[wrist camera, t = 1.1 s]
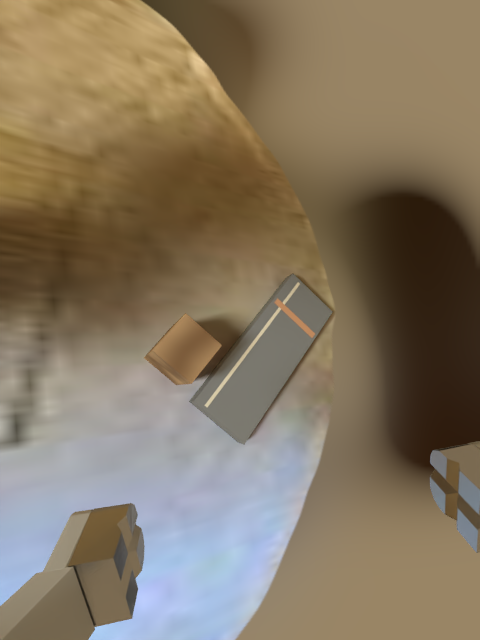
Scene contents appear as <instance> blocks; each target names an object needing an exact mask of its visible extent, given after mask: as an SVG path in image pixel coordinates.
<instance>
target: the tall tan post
mask: <svg viewBox="0 0 480 640" xmlns="http://www.w3.org/2000/svg"><path fill="white" fill-rule="evenodd" d="M221 346H222V345H221V344H220V343H219V342H218V341H217V340H215V339H214V338H213V337H212V336H211V335H210V334H209V333H208V332H206V331H205V330H204V329H203V328H202V327H201V326H200V325H199V324H197V323H196V322H195V321H194V320H193V319H192V318H191V317H189V316H188V315H187V314H186V313H185V314H184V315H183V316H182V317H181V318H180V319H179V320H178V321H177V322H176V323H175V324H174V325H173V326H172V327H171V328H170V329H169V330H168V331H167V333H166V334H165V335H164V336H163V337H162V338H161V339H160V340H159V341H158V343H157V344H156V345H155V346H154V347H153V348H152V349H151V350H150V351H149V353H148V354H147V355H146V356H145V357H144V358H145V359H146V360H147V361H148V362H149V363H151V364H152V365H153V366H154V367H155V368H157V369H158V370H159V371H160V372H161V373H163V374H164V375H165V376H166V377H167V378H169V379H170V380H171V381H172V382H173V383H174V384H176V385H181V384H192V382H193V381H194V380H195V379H196V377H197V376H198V375H199V374H200V372H201V371H202V370H203V369H204V367H205V366H206V365H207V364H208V362H209V361H210V360H211V359H212V357H213V356H214V355H215V354H216V352H217V351H218V350H219V349H220V347H221Z"/></svg>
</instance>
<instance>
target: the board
mask: <svg viewBox="0 0 480 640" xmlns="http://www.w3.org/2000/svg"><path fill="white" fill-rule="evenodd" d="M331 314H332V311H331V310H330V309H329V308H328V307H327V306H326V305H325V304H324V303H323V302H322V301H321V300H320V299H319V298H318V297H317V296H316V295H315V294H314V293H313V292H312V291H311V290H310V289H309V288H308V287H307V286H305V285H304V284H303V283H302V282H301V281H300V280H299V279H298V278H297V277H296V276H295V275H294V274H291V275H290V276H288V277H287V278H286V279H285V280H284V281H283V282H282V284H281V285H280V286H279V288H278V289H277V290H276V291H275V293H274V294H273V295H272V296H271V298H270V299H269V300H268V302H267V303H266V304H265V305H264V307H263V308H262V309H261V311H260V312H259V313H258V314H257V316H256V317H255V318H254V319H253V321H252V322H251V323H250V325H249V326H248V327H247V328H246V330H245V331H244V332H243V334H242V335H241V336H240V337H239V339H238V340H237V341H236V342H235V344H234V345H233V346H232V348H231V349H230V350H229V351H228V353H227V354H226V355H225V357H224V358H223V359H222V360H221V362H220V363H219V364H218V365H217V367H216V368H215V369H214V371H213V372H212V373H211V374H210V376H209V377H208V378H207V380H206V381H205V382H204V383H203V385H202V386H201V387H200V388H199V390H198V391H197V392H196V394H195V395H194V396H193V397H192V399H191V400H190V401H189V402H191V403H192V404H193V405H194V406H195V407H197V408H198V409H199V410H200V411H201V412H203V413H204V414H205V415H206V416H207V417H209V418H210V419H211V420H212V421H213V422H214V423H216V424H217V425H218V426H219V427H220V428H222V429H223V430H224V431H225V432H226V433H228V434H229V435H230V436H231V437H232V438H234V439H235V440H236V441H237V442H239V443H241V444H245V442H246V441H247V439H248V438H249V436H250V435H251V433H252V432H253V430H254V429H255V427H256V426H257V424H258V423H259V421H260V420H261V418H262V417H263V415H264V414H265V412H266V411H267V410H268V408H269V407H270V405H271V404H272V402H273V401H274V399H275V398H276V396H277V395H278V393H279V392H280V390H281V389H282V387H283V386H284V384H285V383H286V381H287V380H288V378H289V377H290V375H291V374H292V372H293V371H294V369H295V368H296V366H297V365H298V363H299V362H300V360H301V359H302V357H303V356H304V354H305V353H306V351H307V350H308V348H309V347H310V345H311V344H312V342H313V341H314V339H315V338H316V336H317V335H318V333H319V332H320V330H321V329H322V327H323V326H324V324H325V323H326V321H327V320H328V318H329V317H330V315H331Z"/></svg>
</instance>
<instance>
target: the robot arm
mask: <svg viewBox="0 0 480 640" xmlns="http://www.w3.org/2000/svg"><path fill="white" fill-rule="evenodd" d="M430 463H431V464H432V465H433V466H434V467H435V470H434V472H433V473H432V475H431V476H430V488H431V491H432V494H433V497H434V499H435V501H436V503H437V505H438V506H439V508H440V509H441V510H442V511H443V513H444V514H445V515H447V516H449V517H451V518H453V519H455V520H457V530H458V531H459V532H460V533H461V534H462V536H463V537H464V538H465V539H466V541H467V542H468V543H469V544H470V545H471V546H472V548H473V549H474V550H475V551H476V552H477V553H478V552H480V441H478V442H473V443H469V444H465V445H459V446H453V447H448V448H443V449H437V450H433V451H432V453H431V458H430ZM136 519H137V511H136V508H135V505H134V504H132V503H130V504H123V505H116V506H110V507H103V508H97V509H94V510H86V511H79V512H75V513H73V514H72V515H71V516H70V518H69V520H68V522H67V524H66V526H65V528H64V530H63V532H62V534H61V536H60V538H59V540H58V542H57V544H56V546H55V548H54V550H53V552H52V554H51V556H50V558H49V560H48V562H47V564H46V566H45V568H44V571H43V572H41V573H36V574H35V575H34V576H33V577H32V578H31V579H30V580H29V581H27V582H26V583H25V584H24V585H23V586H22V587H21V588H20V589H19V590H18V591H17V592H16V593H14V594H13V595H12V596H11V597H10V598H9V599H8V600H7V601H6V602H5V603H4V604H2V605H1V606H0V640H88V639H89V637H90V636H91V634H92V633H93V632H94V630H95V628H94V627H97V626H101V625H105V624H110V623H114V622H119V621H123V620H128V619H132V616H133V611H134V606H135V601H136V596H137V591H138V587H137V583H136V580H135V578H136V577H137V576H138V575H139V573H140V572H141V571H142V566H143V561H144V539H143V533H142V530H141V528H140V527H138V526H137V525H136Z"/></svg>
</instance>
